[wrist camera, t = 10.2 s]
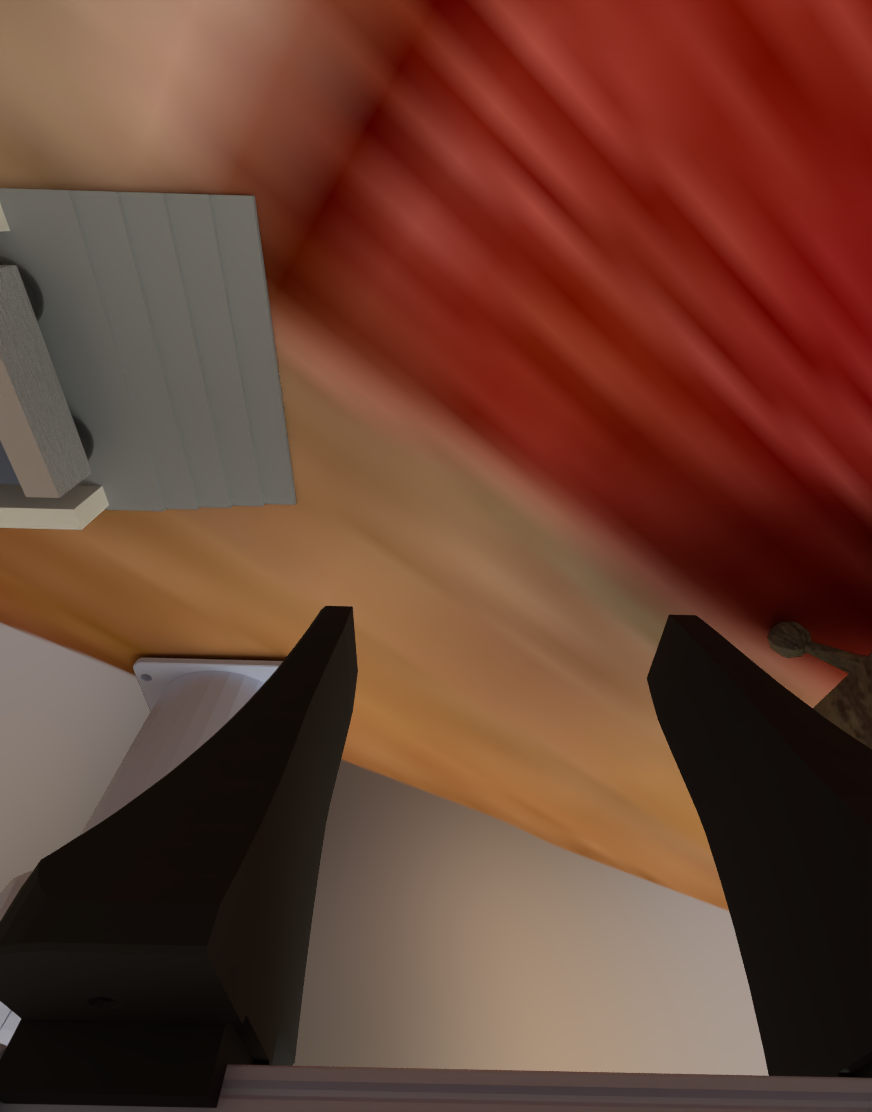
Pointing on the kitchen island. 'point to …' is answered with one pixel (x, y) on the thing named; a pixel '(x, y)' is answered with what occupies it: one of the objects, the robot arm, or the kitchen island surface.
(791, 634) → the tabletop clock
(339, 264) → the kitchen island surface
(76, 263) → the loading dock
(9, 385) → the trolley
